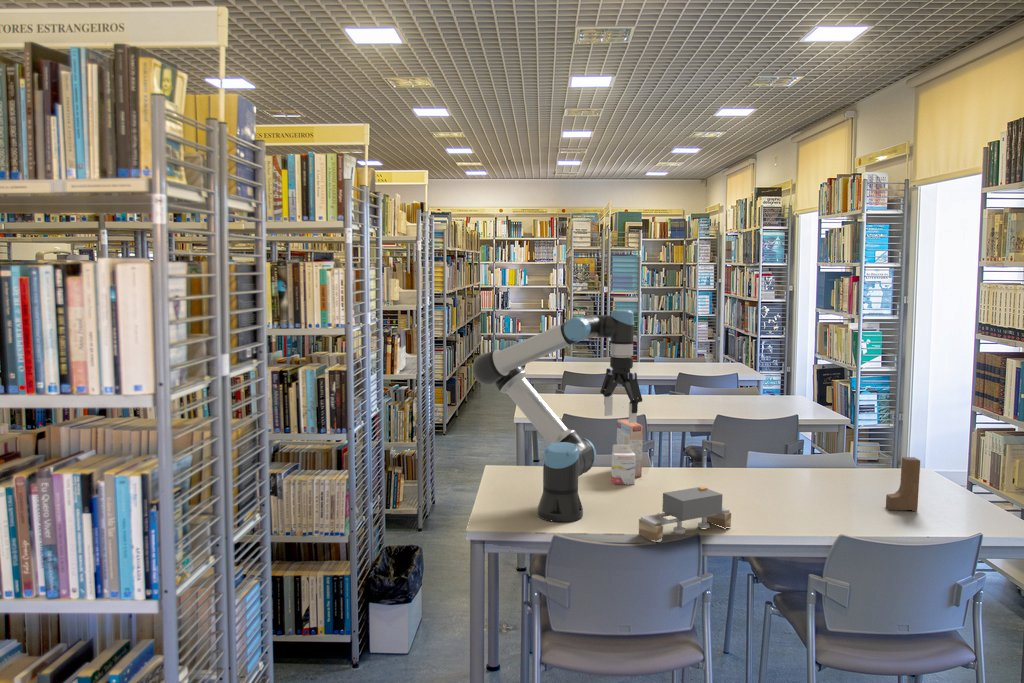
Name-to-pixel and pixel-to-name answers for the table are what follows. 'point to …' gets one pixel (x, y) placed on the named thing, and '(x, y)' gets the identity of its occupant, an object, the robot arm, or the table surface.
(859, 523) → the table surface
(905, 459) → the wooden block
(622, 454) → the ink cartridge box
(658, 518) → the keyhole board
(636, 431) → the cracker box
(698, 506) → the grey box orange tab
